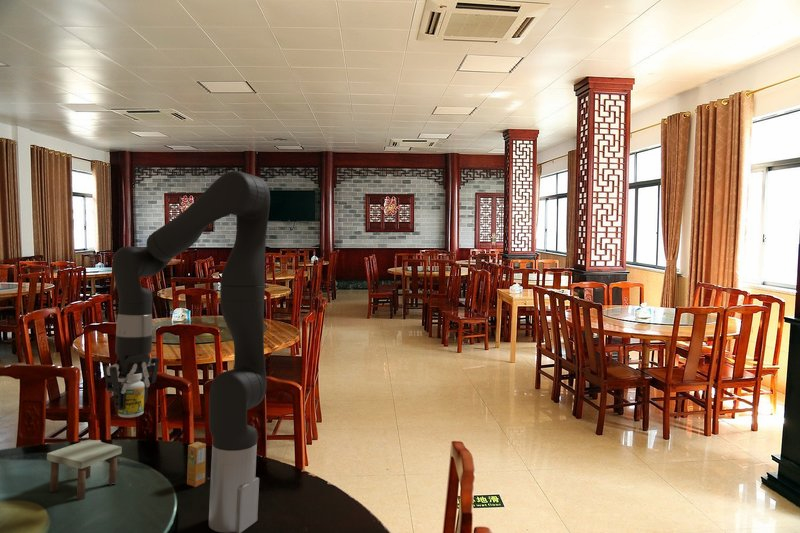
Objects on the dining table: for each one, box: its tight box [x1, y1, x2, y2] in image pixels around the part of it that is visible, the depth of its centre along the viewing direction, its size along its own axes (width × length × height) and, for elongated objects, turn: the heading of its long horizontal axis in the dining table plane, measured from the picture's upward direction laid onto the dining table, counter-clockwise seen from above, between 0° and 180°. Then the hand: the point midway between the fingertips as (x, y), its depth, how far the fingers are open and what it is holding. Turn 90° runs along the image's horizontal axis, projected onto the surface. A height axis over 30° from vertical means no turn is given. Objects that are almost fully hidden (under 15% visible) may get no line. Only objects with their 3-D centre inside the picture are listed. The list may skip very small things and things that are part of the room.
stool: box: [46, 439, 123, 501], centre depth 130 cm, size 11×11×9 cm
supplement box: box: [186, 441, 207, 488], centre depth 135 cm, size 3×3×10 cm
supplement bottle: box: [117, 373, 145, 418], centre depth 125 cm, size 5×5×10 cm
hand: (131, 405), depth 125 cm, fingers closed on supplement bottle, 5 cm apart
